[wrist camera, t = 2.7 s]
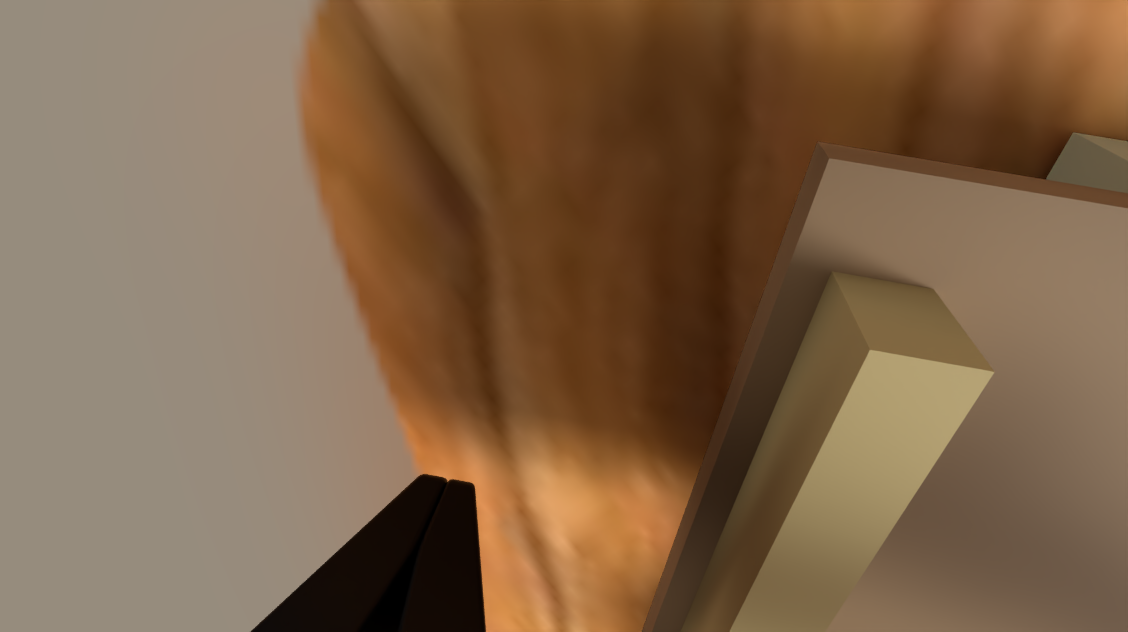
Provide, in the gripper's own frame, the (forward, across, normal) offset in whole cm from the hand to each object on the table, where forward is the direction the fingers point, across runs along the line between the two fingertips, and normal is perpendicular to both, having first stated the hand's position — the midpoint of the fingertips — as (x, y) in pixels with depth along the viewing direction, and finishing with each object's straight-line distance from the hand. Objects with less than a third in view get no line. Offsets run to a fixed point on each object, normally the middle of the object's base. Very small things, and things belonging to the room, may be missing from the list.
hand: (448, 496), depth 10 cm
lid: (+1, -8, 0) cm, 8 cm away
